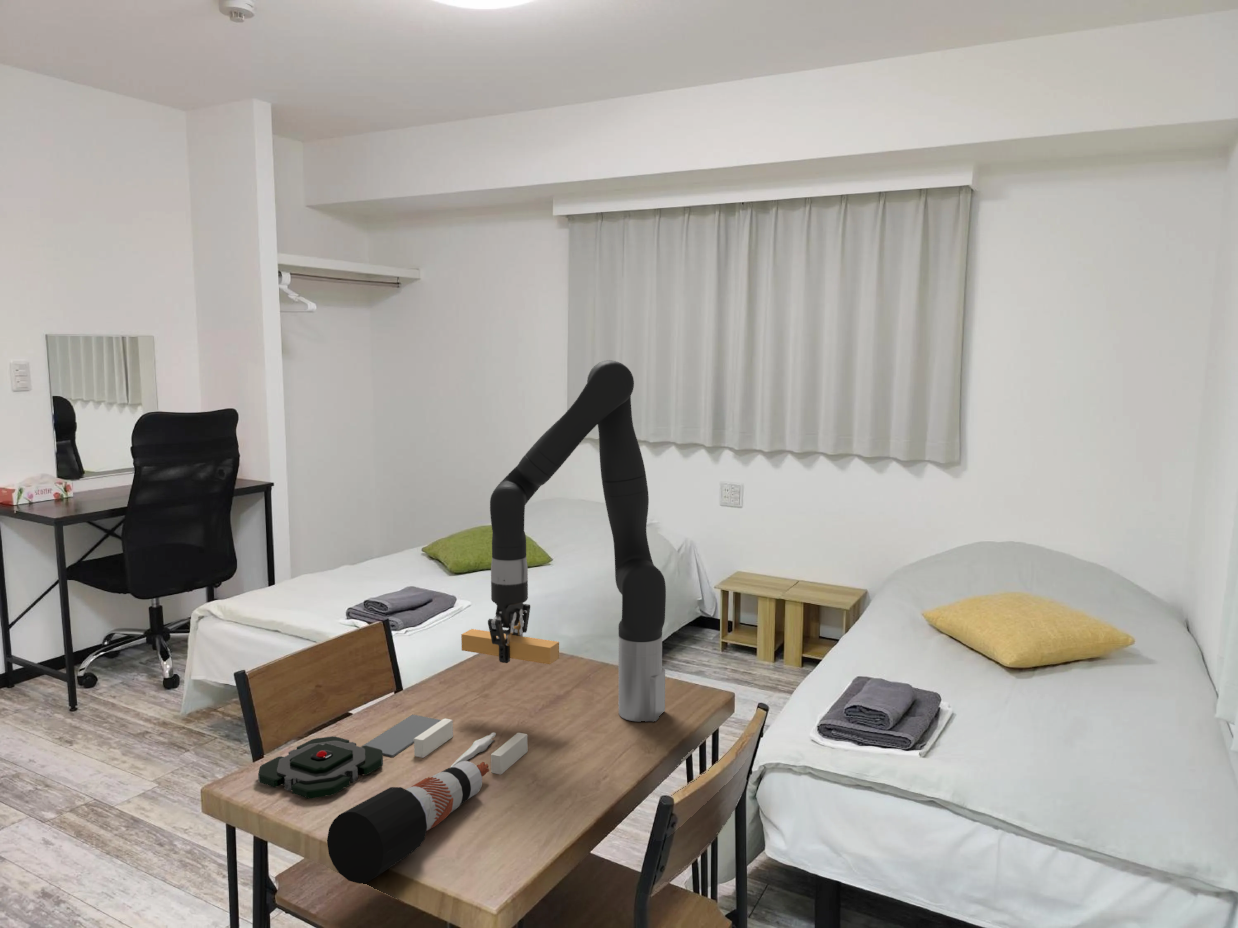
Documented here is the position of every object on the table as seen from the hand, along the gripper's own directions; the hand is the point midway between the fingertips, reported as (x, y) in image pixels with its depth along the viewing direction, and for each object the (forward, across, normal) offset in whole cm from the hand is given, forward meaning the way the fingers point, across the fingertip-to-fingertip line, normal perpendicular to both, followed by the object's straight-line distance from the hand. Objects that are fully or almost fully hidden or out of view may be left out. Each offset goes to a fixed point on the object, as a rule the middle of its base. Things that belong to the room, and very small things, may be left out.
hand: (510, 658), depth 178 cm
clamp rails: (+13, -17, -1) cm, 22 cm away
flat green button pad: (+14, -34, +20) cm, 42 cm away
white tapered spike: (+14, -17, -2) cm, 22 cm away
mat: (+13, -15, +16) cm, 26 cm away
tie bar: (-1, 0, 0) cm, 1 cm away
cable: (+14, -42, -9) cm, 45 cm away
